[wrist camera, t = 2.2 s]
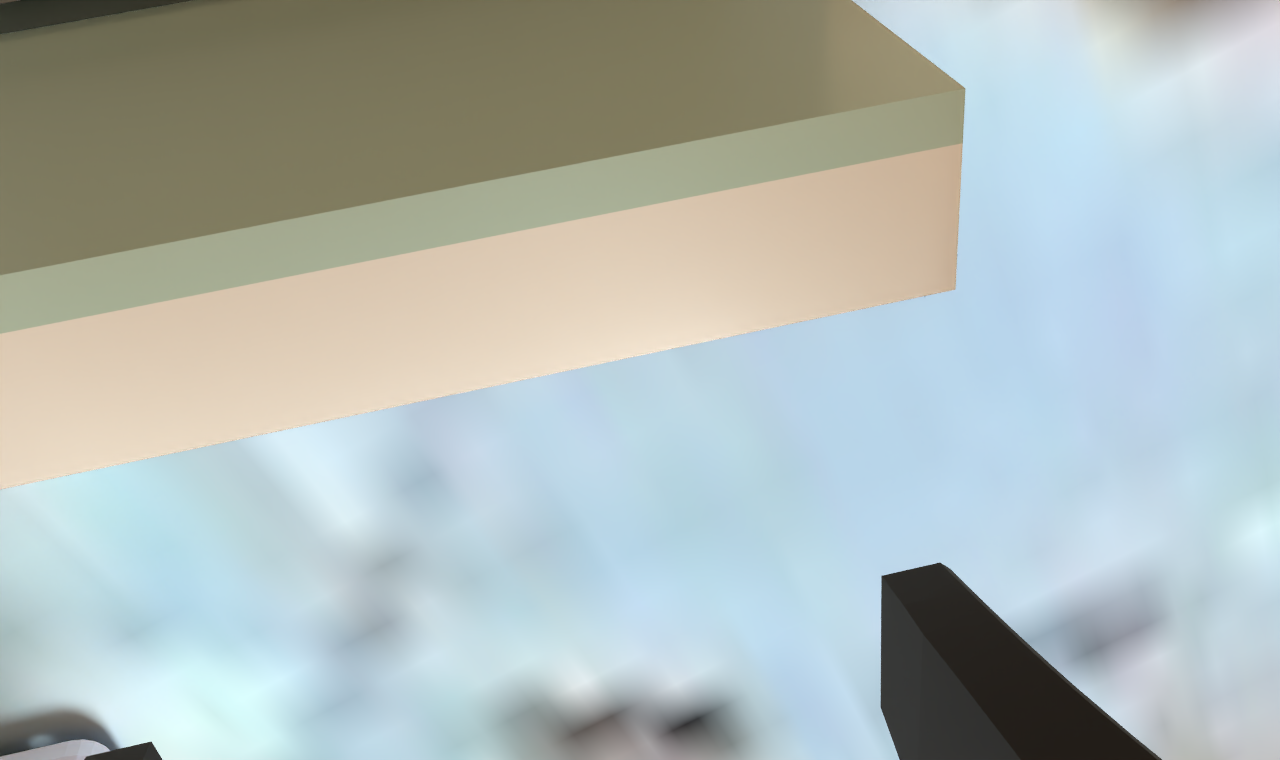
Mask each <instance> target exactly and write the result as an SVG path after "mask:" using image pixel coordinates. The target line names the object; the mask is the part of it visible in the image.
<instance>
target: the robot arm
mask: <svg viewBox="0 0 1280 760" xmlns="http://www.w3.org/2000/svg"><path fill="white" fill-rule="evenodd" d="M881 709H882V712H883V715H884V717H885V720H886V723H887V726H888V728H889V731H890V734H891V737H892V740H893V742H894V745H895V748H896V751H897V753H898V756H899V759H900V760H1162V759H1161V758H1159V757H1158V756H1157V755H1156V754H1155V753H1153V752H1152V751H1151V750H1150V749H1148V748H1147V747H1146V746H1145V745H1143V744H1142V743H1141V742H1140V741H1139V740H1137V739H1136V738H1135V737H1134V736H1132V735H1131V734H1130V733H1129V732H1128V731H1127V730H1125V729H1124V728H1123V727H1122V726H1121V725H1120V724H1118V723H1117V722H1116V721H1115V720H1114V719H1113V718H1111V717H1110V716H1109V715H1108V714H1107V713H1105V712H1104V711H1103V710H1102V709H1101V708H1100V707H1098V706H1097V705H1096V704H1095V703H1094V702H1093V701H1091V700H1090V699H1089V698H1088V697H1087V696H1086V695H1084V694H1083V693H1082V692H1081V691H1080V690H1079V689H1077V688H1076V687H1075V686H1074V685H1073V684H1072V683H1071V682H1069V681H1068V680H1067V679H1066V678H1065V677H1064V676H1063V675H1062V674H1060V673H1059V672H1058V671H1057V670H1056V669H1055V668H1054V667H1053V666H1052V665H1050V664H1049V663H1048V662H1047V661H1046V660H1045V659H1044V658H1043V657H1042V656H1041V655H1040V654H1038V653H1037V652H1036V651H1035V650H1034V649H1033V648H1032V647H1031V646H1030V645H1029V644H1028V643H1026V642H1025V641H1024V640H1023V639H1022V638H1021V637H1020V636H1019V635H1018V634H1017V633H1016V632H1015V631H1014V630H1012V629H1011V628H1010V627H1009V626H1008V625H1007V624H1006V623H1005V622H1004V621H1003V620H1002V619H1001V618H1000V617H999V616H998V615H997V614H996V613H995V612H994V611H993V610H991V609H990V608H989V607H988V606H987V605H986V604H985V603H984V602H983V601H982V600H981V599H980V598H979V597H978V596H977V595H976V594H975V593H974V592H973V591H972V590H971V589H970V588H969V587H968V586H967V585H966V584H965V583H964V582H963V581H962V580H961V579H960V578H959V577H958V576H957V575H956V574H955V573H954V572H953V571H952V570H951V569H949V568H948V567H946V566H945V565H943V564H942V563H937V564H932V565H928V566H923V567H919V568H915V569H910V570H906V571H901V572H897V573H892V574H888V575H884V576H882V599H881ZM0 760H162V758H161V756H160V755H159V753H158V752H157V750H156V748H155V747H154V745H153V744H152V742H148V743H143V744H139V745H135V746H130V747H126V748H121V749H117V750H112V751H110V750H109V749H108V748H107V747H106V746H104V745H102V744H100V743H98V742H95V741H91V740H84V739H80V740H71V741H66V742H62V743H57V744H53V745H49V746H44V747H40V748H36V749H31V750H27V751H22V752H18V753H14V754H9V755H5V756H1V757H0Z"/></svg>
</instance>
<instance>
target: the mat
mask: <svg viewBox="0 0 1280 760" xmlns="http://www.w3.org/2000/svg"><path fill="white" fill-rule="evenodd" d="M13 1H19V0H0V4H1V3H7V2H13Z"/></svg>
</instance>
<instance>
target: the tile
mask: <svg viewBox="0 0 1280 760" xmlns="http://www.w3.org/2000/svg"><path fill="white" fill-rule="evenodd" d="M964 104H965V88H964V87H963V86H962V85H960V84H959V83H958V82H956V81H955V80H954V79H952V78H951V77H950V76H949V75H947V74H946V73H945V72H943V71H942V70H941V69H940V68H938V67H937V66H936V65H934V64H933V63H932V62H931V61H929V60H928V59H927V58H925V57H924V56H923V55H921V54H920V53H919V52H918V51H916V50H915V49H914V48H912V47H911V46H910V45H909V44H907V43H906V42H905V41H903V40H902V39H901V38H900V37H898V36H897V35H896V34H894V33H893V32H892V31H890V30H889V29H888V28H887V27H885V26H884V25H883V24H881V23H880V22H879V21H878V20H876V19H875V18H874V17H872V16H871V15H870V14H868V13H867V12H866V11H865V10H863V9H862V8H861V7H859V6H858V5H857V4H856V3H854V2H853V1H852V0H192V1H186V2H181V3H175V4H169V5H164V6H158V7H152V8H147V9H141V10H135V11H130V12H124V13H118V14H113V15H107V16H101V17H96V18H90V19H84V20H79V21H73V22H67V23H62V24H56V25H50V26H45V27H39V28H33V29H28V30H22V31H16V32H11V33H5V34H0V489H5V488H9V487H14V486H19V485H24V484H28V483H33V482H38V481H43V480H48V479H52V478H57V477H62V476H67V475H71V474H76V473H81V472H86V471H91V470H95V469H100V468H105V467H110V466H114V465H119V464H124V463H129V462H134V461H138V460H143V459H148V458H153V457H157V456H162V455H167V454H172V453H177V452H181V451H186V450H191V449H196V448H200V447H205V446H210V445H215V444H220V443H224V442H229V441H234V440H239V439H243V438H248V437H253V436H258V435H263V434H267V433H272V432H277V431H282V430H286V429H291V428H296V427H301V426H306V425H310V424H315V423H320V422H325V421H329V420H334V419H339V418H344V417H349V416H353V415H358V414H363V413H368V412H372V411H377V410H382V409H387V408H392V407H396V406H401V405H406V404H411V403H415V402H420V401H425V400H430V399H435V398H439V397H444V396H449V395H454V394H458V393H463V392H468V391H473V390H478V389H482V388H487V387H492V386H497V385H501V384H506V383H511V382H516V381H521V380H525V379H530V378H535V377H540V376H544V375H549V374H554V373H559V372H564V371H568V370H573V369H578V368H583V367H587V366H592V365H597V364H602V363H607V362H611V361H616V360H621V359H626V358H630V357H635V356H640V355H645V354H650V353H654V352H659V351H664V350H669V349H673V348H678V347H683V346H688V345H693V344H697V343H702V342H707V341H712V340H716V339H721V338H726V337H731V336H736V335H740V334H745V333H750V332H755V331H759V330H764V329H769V328H774V327H778V326H783V325H788V324H793V323H798V322H802V321H807V320H812V319H817V318H821V317H826V316H831V315H836V314H841V313H845V312H850V311H855V310H860V309H864V308H869V307H874V306H879V305H884V304H888V303H893V302H898V301H903V300H907V299H912V298H917V297H922V296H927V295H931V294H936V293H941V292H946V291H950V290H955V286H956V266H957V246H958V225H959V205H960V185H961V165H962V144H963V124H964Z"/></svg>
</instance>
